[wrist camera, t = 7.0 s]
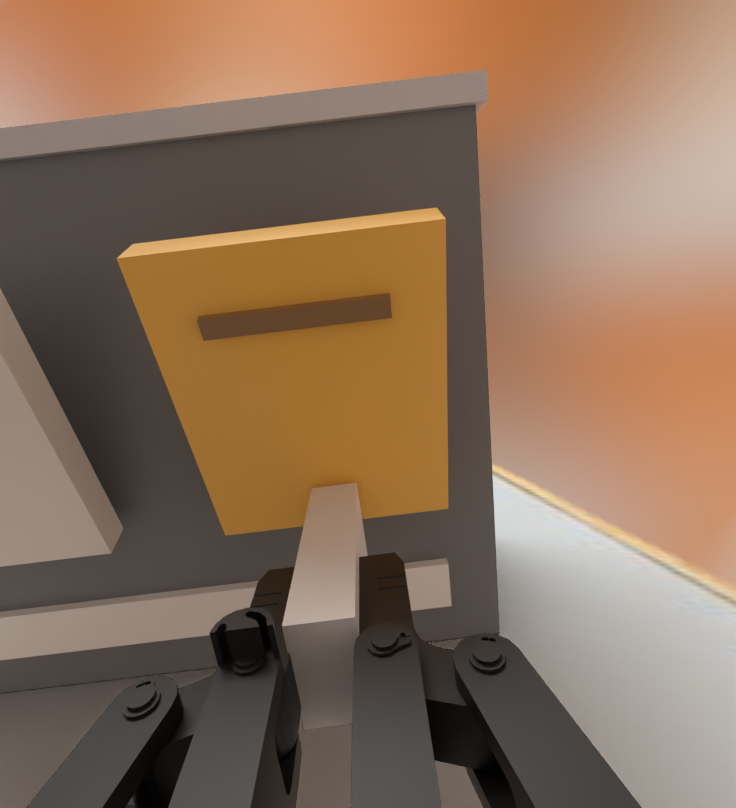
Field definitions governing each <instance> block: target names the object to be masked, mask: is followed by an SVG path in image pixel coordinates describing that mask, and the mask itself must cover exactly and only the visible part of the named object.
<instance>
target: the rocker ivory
mask: <svg viewBox="0 0 736 808" xmlns="http://www.w3.org/2000/svg"><path fill="white" fill-rule="evenodd" d="M122 530H123V526H122V524H121V522H120V520H119V518H118V516H117V514H116V512H115V511H114V509H113V507H112V505H111V503H110V501H109V499H108V497H107V495H106V493H105V491H104V489H103V487H102V485H101V483H100V481H99V479H98V477H97V475H96V474H95V472H94V470H93V468H92V466H91V464H90V462H89V460H88V458H87V456H86V454H85V452H84V450H83V448H82V446H81V444H80V442H79V440H78V438H77V436H76V435H75V433H74V431H73V429H72V427H71V425H70V423H69V421H68V419H67V417H66V415H65V413H64V411H63V409H62V407H61V405H60V403H59V401H58V399H57V398H56V396H55V394H54V392H53V390H52V388H51V386H50V384H49V382H48V380H47V378H46V376H45V374H44V372H43V370H42V368H41V366H40V364H39V362H38V361H37V359H36V357H35V355H34V353H33V351H32V349H31V347H30V345H29V343H28V341H27V339H26V337H25V335H24V333H23V331H22V329H21V327H20V325H19V323H18V322H17V320H16V318H15V316H14V314H13V312H12V310H11V308H10V306H9V304H8V302H7V300H6V298H5V296H4V294H3V292H2V290H1V288H0V567H3V566H11V565H19V564H28V563H36V562H44V561H53V560H61V559H69V558H78V557H86V556H94V555H102V554H111V553H112V551H113V549H114V547H115V545H116V543H117V541H118V539H119V537H120V535H121V533H122Z"/></svg>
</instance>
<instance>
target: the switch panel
mask: <svg viewBox="0 0 736 808" xmlns="http://www.w3.org/2000/svg"><path fill="white" fill-rule="evenodd" d="M487 92H488V90H487V70H482V71H475V72H466V73H457V74H449V75H441V76H432V77H424V78H416V79H408V80H400V81H391V82H382V83H374V84H365V85H358V86H350V87H341V88H333V89H324V90H316V91H308V92H300V93H291V94H282V95H275V96H266V97H257V98H249V99H241V100H232V101H224V102H216V103H207V104H199V105H191V106H182V107H175V108H166V109H158V110H149V111H141V112H133V113H125V114H116V115H108V116H100V117H91V118H83V119H75V120H66V121H58V122H49V123H41V124H34V125H25V126H16V127H8V128H0V288H1V290H2V292H3V294H4V296H5V298H6V300H7V302H8V304H9V306H10V308H11V310H12V312H13V314H14V316H15V318H16V320H17V322H18V323H19V325H20V327H21V329H22V331H23V333H24V335H25V337H26V339H27V341H28V343H29V345H30V347H31V349H32V351H33V353H34V355H35V357H36V359H37V361H38V362H39V364H40V366H41V368H42V370H43V372H44V374H45V376H46V378H47V380H48V382H49V384H50V386H51V388H52V390H53V392H54V394H55V396H56V398H57V399H58V401H59V403H60V405H61V407H62V409H63V411H64V413H65V415H66V417H67V419H68V421H69V423H70V425H71V427H72V429H73V431H74V433H75V435H76V436H77V438H78V440H79V442H80V444H81V446H82V448H83V450H84V452H85V454H86V456H87V458H88V460H89V462H90V464H91V466H92V468H93V470H94V472H95V474H96V475H97V477H98V479H99V481H100V483H101V485H102V487H103V489H104V491H105V493H106V495H107V497H108V499H109V501H110V503H111V505H112V507H113V509H114V511H115V512H116V514H117V516H118V518H119V520H120V522H121V524H122V526H123V530H122V533H121V535H120V537H119V539H118V541H117V543H116V545H115V547H114V549H113V551H112V553H111V554H102V555H94V556H86V557H78V558H69V559H61V560H53V561H44V562H36V563H28V564H19V565H11V566H3V567H0V693H6V692H14V691H22V690H31V689H39V688H47V687H55V686H64V685H72V684H80V683H89V682H97V681H105V680H114V679H122V678H130V677H138V676H147V675H155V674H163V673H172V672H180V671H188V670H196V669H205V668H213V667H218V664H217V660H216V656H215V652H214V649H213V645H212V641H211V637H210V634H209V633H210V631H211V630H212V628H213V627H214V625H215V624H216V623H217V622H218V621H220V620H221V619H222V618H223V617H224V616H226V615H228V614H230V613H232V612H234V611H236V610H240V609H244V608H250V605H251V602H252V599H253V598H254V593H255V590H256V586H257V583H258V582H259V580H260V579H261V578H262V577H263V576H264V575H265V574H266V573H267V572H268V570H272V569H280V568H288V567H295V564H296V559H297V554H298V550H299V545H300V541H301V536H302V531H303V527H304V526H301V527H293V528H285V529H276V530H268V531H260V532H251V533H243V534H235V535H226V536H225V534H224V531H223V528H222V526H221V523H220V521H219V518H218V516H217V513H216V511H215V508H214V506H213V503H212V500H211V498H210V495H209V493H208V490H207V488H206V485H205V483H204V480H203V478H202V475H201V472H200V470H199V467H198V465H197V462H196V460H195V457H194V455H193V452H192V449H191V447H190V444H189V442H188V439H187V437H186V434H185V432H184V429H183V427H182V424H181V421H180V419H179V416H178V414H177V411H176V409H175V406H174V404H173V401H172V399H171V396H170V393H169V391H168V388H167V386H166V383H165V381H164V378H163V376H162V373H161V371H160V368H159V365H158V363H157V360H156V358H155V355H154V353H153V350H152V348H151V345H150V343H149V340H148V337H147V335H146V332H145V330H144V327H143V325H142V322H141V320H140V317H139V314H138V312H137V309H136V307H135V304H134V302H133V299H132V297H131V294H130V292H129V289H128V286H127V284H126V281H125V279H124V276H123V274H122V271H121V269H120V266H119V264H118V261H117V258H118V257H119V256H120V255H121V254H122V253H123V252H124V251H125V250H127V249H128V248H129V247H130V246H131V245H132V244H136V243H145V242H153V241H161V240H170V239H178V238H186V237H195V236H203V235H211V234H220V233H228V232H236V231H245V230H253V229H261V228H269V227H278V226H286V225H294V224H303V223H311V222H319V221H328V220H336V219H344V218H353V217H361V216H369V215H378V214H386V213H394V212H402V211H411V210H419V209H427V208H436V207H437V208H438V210H439V211H440V212H441V213H442V215H443V216H444V217H445V218H446V296H447V409H448V509H442V510H434V511H426V512H417V513H409V514H401V515H392V516H384V517H376V518H368V519H362V521H363V528H364V534H365V541H366V547H367V554H368V556H370V555H378V554H386V553H393V552H395V553H396V554H397V555H398V556H399V557H400V559H401V560H402V561H403V562H404V566H405V573H406V579H407V586H408V592H409V599H410V606H411V612H412V619H413V625H414V628H415V631H416V633H417V634H418V636H419V637H420V638H421V639H422V640H424V641H425V642H429V641H437V640H445V639H454V638H462V637H469V636H471V635H476V634H483V633H487V634H495V633H499V613H498V591H497V569H496V546H495V524H494V502H493V480H492V458H491V437H490V415H489V393H488V392H489V391H488V369H487V347H486V324H485V302H484V280H483V258H482V236H481V215H480V214H481V213H480V192H479V169H478V148H477V126H476V125H477V124H476V113H477V112H478V111H479V110H480V109H481V107H482V106H483V105H484V104H485V103H486V102H487V101H488V93H487Z"/></svg>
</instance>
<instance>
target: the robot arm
mask: <svg viewBox="0 0 736 808" xmlns="http://www.w3.org/2000/svg"><path fill="white" fill-rule="evenodd" d="M209 634H210V637H211V641H212V645H213V649H214V652H215V656H216V660H217V664H218V667H217V670H216V673H215V674H213V675H212V676H210V677H208V678H206V679H204V680H202V681H199V682H197V683H194V684H192V685H189V686H186V687H184V688H181V689H178V687H177V684H176V683H175V682H174V681H173V679H172V678H168V677H165V676H156V677H150V678H147V679H144V680H141V681H139V682H137V683H135V684H134V685H132V686H130V687H129V688H127V689H126V690H124V691H123V692H122V693H121V694H120V695H119V696H118V697H117V698H116V699H115V700H114V701H113V702H112V704H111V705H110V706H109V707H108V709H107V710H106V711H105V712H104V713H103V715H102V716H101V717H100V718H99V720H98V721H97V722H96V723H95V724H94V726H93V727H92V728H91V729H90V731H89V732H88V733H87V734H86V735H85V737H84V738H83V739H82V740H81V742H80V743H79V744H78V745H77V746H76V748H75V749H74V750H73V751H72V753H71V754H70V755H69V756H68V757H67V759H66V760H65V761H64V762H63V764H62V765H61V766H60V767H59V768H58V770H57V771H56V772H55V773H54V775H53V776H52V777H51V778H50V779H49V781H48V782H47V783H46V784H45V786H44V787H43V788H42V789H41V790H40V792H39V793H38V794H37V795H36V797H35V798H34V799H33V800H32V801H31V803H30V804H29V805H28V806H27V808H295V807H296V799H297V790H298V781H299V773H300V764H301V755H302V753H301V743H300V739H299V734H298V728H299V721H300V713H301V717H302V722H303V726H304V730H309V729H317V728H326V727H334V726H342V725H350V724H352V761H351V808H441V801H440V795H439V788H438V781H437V775H436V768H435V761H434V760H436V761H441V762H445V763H450V764H454V765H459V766H464V767H466V770H467V773H468V776H469V778H470V780H471V782H472V784H473V786H474V788H475V790H476V793H477V795H478V797H479V799H480V801H481V803H482V805H483V807H484V808H641V806H640V805H639V804H638V802H637V801H636V800H635V799H634V797H633V796H632V795H631V793H630V792H629V791H628V790H627V788H626V787H625V786H624V784H623V783H622V782H621V780H620V779H619V778H618V777H617V775H616V774H615V773H614V771H613V770H612V769H611V768H610V766H609V765H608V764H607V762H606V761H605V760H604V758H603V757H602V756H601V755H600V753H599V752H598V751H597V749H596V748H595V747H594V746H593V744H592V743H591V742H590V740H589V739H588V738H587V736H586V735H585V734H584V733H583V731H582V730H581V729H580V727H579V726H578V725H577V724H576V722H575V721H574V720H573V718H572V717H571V716H570V714H569V713H568V712H567V711H566V709H565V708H564V707H563V705H562V704H561V703H560V702H559V700H558V699H557V698H556V696H555V695H554V694H553V692H552V691H551V690H550V689H549V687H548V686H547V685H546V683H545V682H544V681H543V680H542V678H541V677H540V676H539V674H538V673H537V672H536V670H535V669H534V668H533V667H532V665H531V664H530V663H529V661H528V660H527V659H526V658H525V656H524V655H523V654H522V652H521V651H520V650H519V649H518V647H516V646H515V645H514V644H513V643H512V642H511V641H510V640H508V639H506V638H503V637H501V636H499V635H495V634H487V633H483V634H476V635H471V636H469V637H468V638H466V639H464V640H462V641H461V642H460V643H459V644H458V646H457V647H456V648H455V650H450V649H443V648H439V647H435V646H433V645H430V644H428V643H426V642H425V641H424V640H422V639H421V638H420V637H419V636H418V634H417V633H416V631H415V628H414V625H413V619H412V612H411V606H410V599H409V592H408V586H407V579H406V573H405V566H404V562H403V561H402V560H401V559H400V557H399V556H398V555H397V554H396V553H395V552H393V553H386V554H378V555H370V556H368V554H367V547H366V541H365V534H364V528H363V521H362V515H361V508H360V502H359V496H358V489H357V483H349V484H341V485H333V486H326V487H318V488H312V490H311V495H310V499H309V504H308V508H307V513H306V518H305V522H304V527H303V531H302V536H301V541H300V545H299V550H298V554H297V559H296V564H295V567H288V568H280V569H272V570H268V572H267V573H266V574H265V575H264V576H263V577H262V578H261V579H260V580H259V582H258V583H257V586H256V590H255V593H254V598H253V599H252V602H251V605H250V608H244V609H240V610H236V611H234V612H232V613H230V614H228V615H226V616H224V617H223V618H222V619H221V620H220V621H218V622H217V623H216V624H215V625H214V627H213V628H212V630H211V631H210V633H209Z"/></svg>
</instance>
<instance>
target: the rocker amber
mask: <svg viewBox="0 0 736 808" xmlns="http://www.w3.org/2000/svg"><path fill="white" fill-rule="evenodd" d="M117 261H118V264H119V266H120V269H121V271H122V274H123V276H124V279H125V281H126V284H127V286H128V289H129V292H130V294H131V297H132V299H133V302H134V304H135V307H136V309H137V312H138V314H139V317H140V320H141V322H142V325H143V327H144V330H145V332H146V335H147V337H148V340H149V343H150V345H151V348H152V350H153V353H154V355H155V358H156V360H157V363H158V365H159V368H160V371H161V373H162V376H163V378H164V381H165V383H166V386H167V388H168V391H169V393H170V396H171V399H172V401H173V404H174V406H175V409H176V411H177V414H178V416H179V419H180V421H181V424H182V427H183V429H184V432H185V434H186V437H187V439H188V442H189V444H190V447H191V449H192V452H193V455H194V457H195V460H196V462H197V465H198V467H199V470H200V472H201V475H202V478H203V480H204V483H205V485H206V488H207V490H208V493H209V495H210V498H211V500H212V503H213V506H214V508H215V511H216V513H217V516H218V518H219V521H220V523H221V526H222V528H223V531H224V534H225V536H226V535H235V534H243V533H251V532H260V531H268V530H276V529H285V528H293V527H301V526H304V522H305V518H306V513H307V508H308V504H309V499H310V495H311V490H312V488H318V487H326V486H333V485H341V484H349V483H357V489H358V496H359V502H360V508H361V515H362V519H368V518H376V517H384V516H392V515H401V514H409V513H417V512H426V511H434V510H442V509H448V409H447V296H446V218H445V217H444V216H443V215H442V213H441V212H440V211H439V210H438V208H437V207H436V208H427V209H419V210H411V211H402V212H394V213H386V214H378V215H369V216H361V217H353V218H344V219H336V220H328V221H319V222H311V223H303V224H294V225H286V226H278V227H269V228H261V229H253V230H245V231H236V232H228V233H220V234H211V235H203V236H195V237H186V238H178V239H170V240H161V241H153V242H145V243H136V244H132V245H131V246H130V247H129V248H128V249H127V250H125V251H124V252H123V253H122V254H121V255H120V256H119V257H118V258H117Z"/></svg>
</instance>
